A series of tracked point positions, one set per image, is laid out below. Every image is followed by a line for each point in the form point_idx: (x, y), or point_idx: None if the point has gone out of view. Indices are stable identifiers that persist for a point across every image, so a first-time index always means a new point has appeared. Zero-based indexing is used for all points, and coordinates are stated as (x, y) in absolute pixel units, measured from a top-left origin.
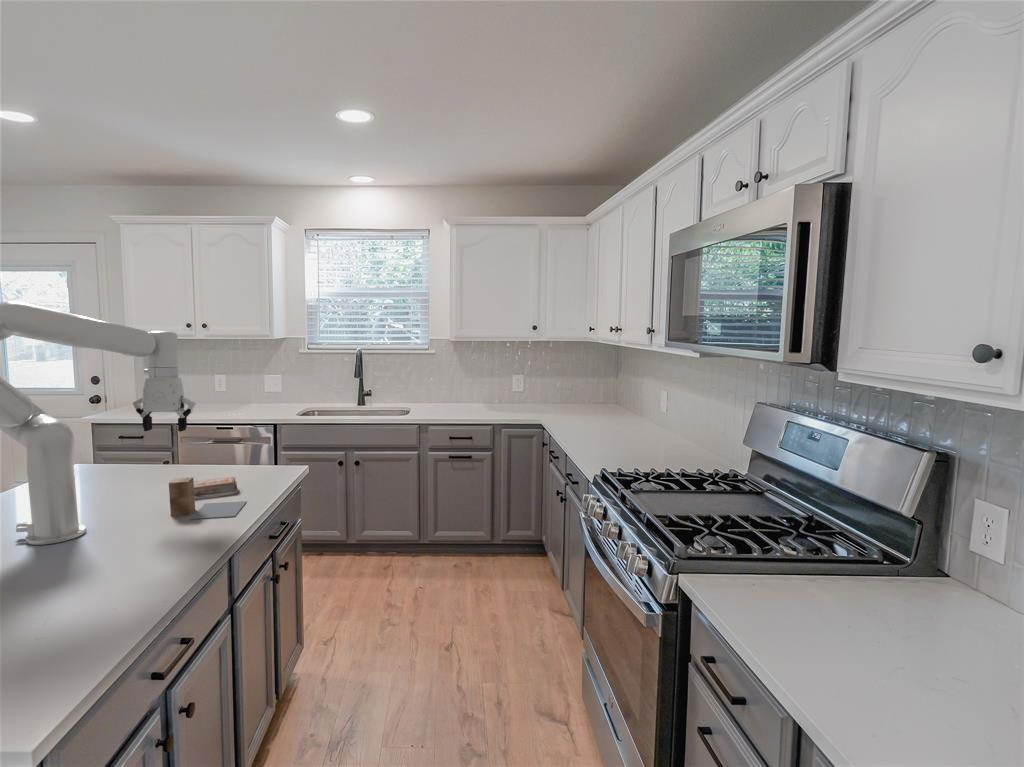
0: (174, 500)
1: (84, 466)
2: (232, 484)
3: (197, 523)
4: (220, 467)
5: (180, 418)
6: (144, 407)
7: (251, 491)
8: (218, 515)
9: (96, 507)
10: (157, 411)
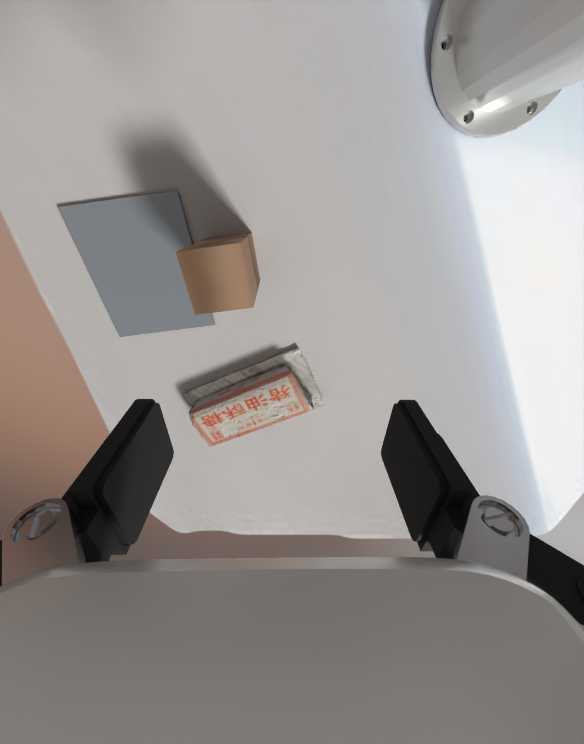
0: (234, 238)
1: (540, 532)
2: (192, 410)
3: (132, 148)
4: (311, 528)
5: (72, 494)
6: (570, 650)
7: (164, 408)
8: (111, 216)
9: (463, 318)
10: (304, 562)
